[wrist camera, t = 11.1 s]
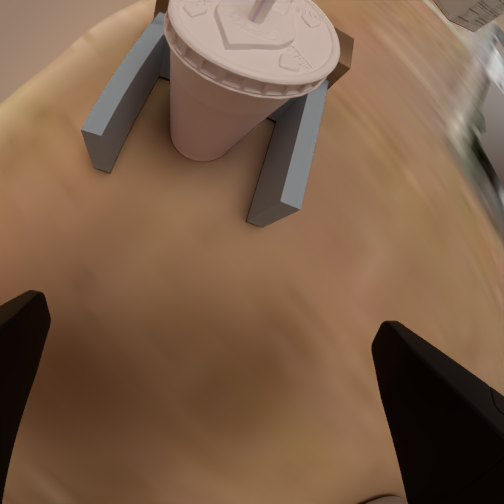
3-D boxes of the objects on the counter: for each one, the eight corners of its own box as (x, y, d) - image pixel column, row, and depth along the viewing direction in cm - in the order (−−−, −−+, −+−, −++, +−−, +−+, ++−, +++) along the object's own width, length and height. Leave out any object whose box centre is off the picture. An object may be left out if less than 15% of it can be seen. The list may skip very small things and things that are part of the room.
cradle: (262, 227, 18) (300, 209, 14) (93, 167, 15) (80, 129, 11) (293, 116, 19) (328, 81, 15) (151, 60, 17) (159, 12, 12)
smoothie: (125, 146, 16) (141, -101, 3) (186, 74, 18) (268, -120, 4) (221, 205, 17) (412, 33, 4) (270, 125, 19) (424, -30, 6)
